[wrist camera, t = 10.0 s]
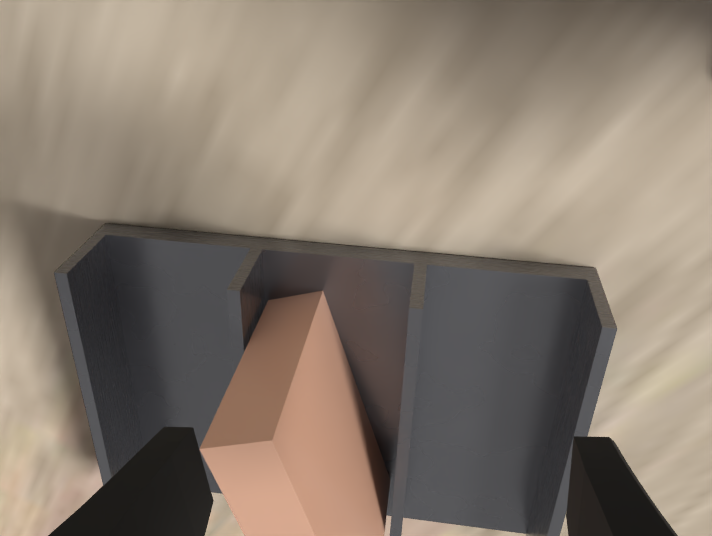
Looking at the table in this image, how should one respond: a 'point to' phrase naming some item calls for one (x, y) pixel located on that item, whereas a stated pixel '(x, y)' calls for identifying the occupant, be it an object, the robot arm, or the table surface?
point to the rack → (354, 358)
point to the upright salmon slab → (297, 432)
